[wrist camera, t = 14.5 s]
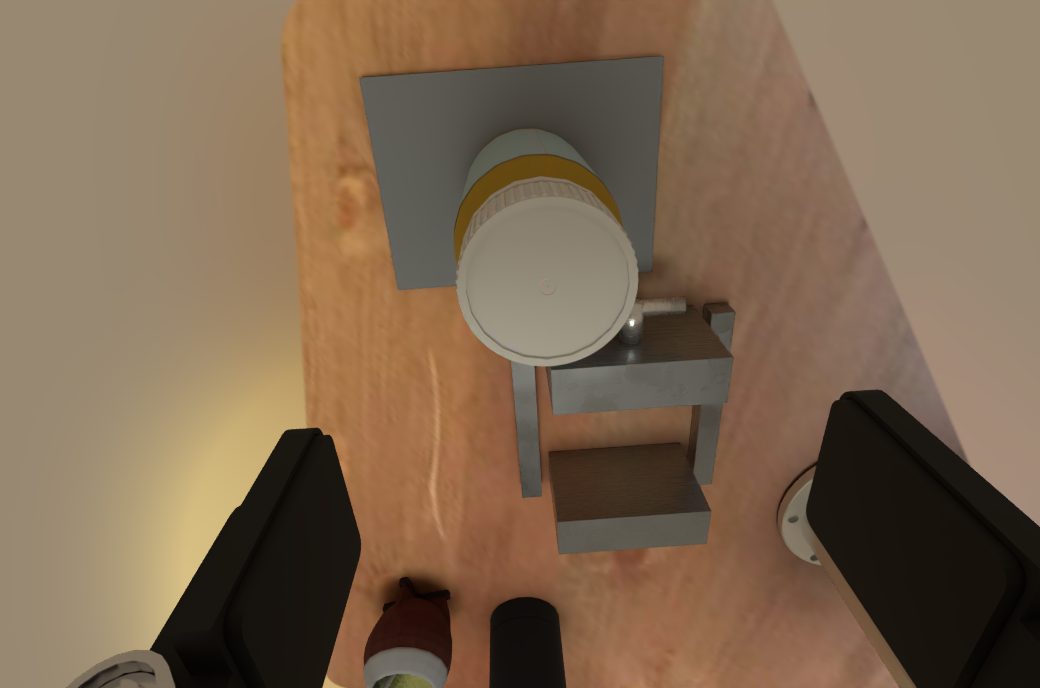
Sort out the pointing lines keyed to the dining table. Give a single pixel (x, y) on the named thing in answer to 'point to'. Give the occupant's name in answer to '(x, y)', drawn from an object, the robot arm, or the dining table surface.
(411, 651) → the mate gourd
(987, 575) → the robot arm
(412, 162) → the mat
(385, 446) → the dining table surface
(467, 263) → the bottle
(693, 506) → the vise
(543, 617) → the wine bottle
